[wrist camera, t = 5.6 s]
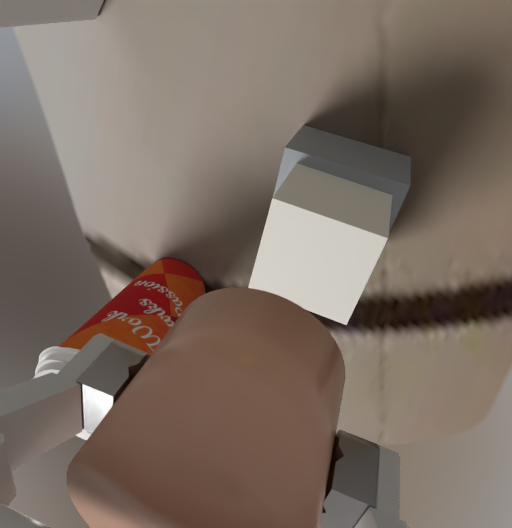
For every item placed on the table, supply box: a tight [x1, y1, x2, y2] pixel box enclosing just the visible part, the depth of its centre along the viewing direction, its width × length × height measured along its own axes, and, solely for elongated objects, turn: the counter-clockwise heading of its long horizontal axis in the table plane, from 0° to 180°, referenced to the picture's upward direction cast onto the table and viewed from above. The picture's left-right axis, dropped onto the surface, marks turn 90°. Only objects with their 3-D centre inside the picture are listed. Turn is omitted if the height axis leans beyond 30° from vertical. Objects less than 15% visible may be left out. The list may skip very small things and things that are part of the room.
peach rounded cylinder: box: [67, 287, 345, 528], centre depth 10 cm, size 5×5×5 cm
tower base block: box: [273, 125, 411, 286], centre depth 27 cm, size 7×7×5 cm
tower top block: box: [248, 163, 392, 325], centre depth 23 cm, size 6×6×5 cm
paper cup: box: [33, 258, 205, 440], centre depth 32 cm, size 8×8×14 cm
